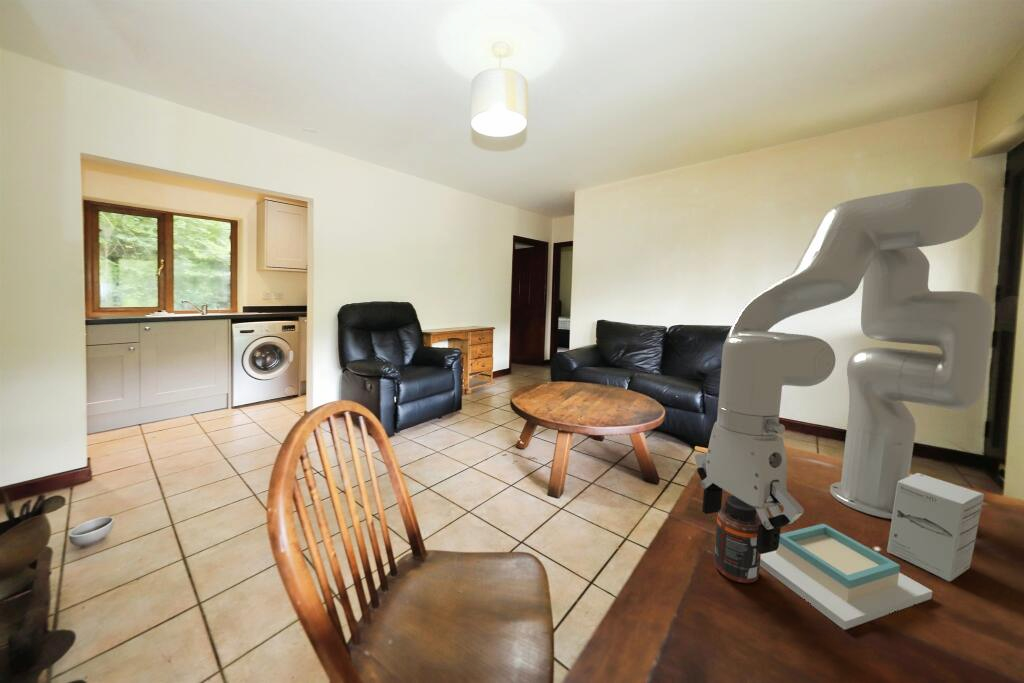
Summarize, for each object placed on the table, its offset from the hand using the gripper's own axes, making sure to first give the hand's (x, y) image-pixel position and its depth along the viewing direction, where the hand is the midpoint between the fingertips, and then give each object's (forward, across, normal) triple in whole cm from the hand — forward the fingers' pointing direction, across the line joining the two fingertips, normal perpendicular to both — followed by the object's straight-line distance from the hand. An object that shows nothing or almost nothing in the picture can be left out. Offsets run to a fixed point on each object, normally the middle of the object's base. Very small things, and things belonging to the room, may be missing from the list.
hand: (736, 529), depth 56 cm
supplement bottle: (+7, 0, -1) cm, 7 cm away
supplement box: (+6, -7, -32) cm, 33 cm away
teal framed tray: (+7, -5, -14) cm, 16 cm away
